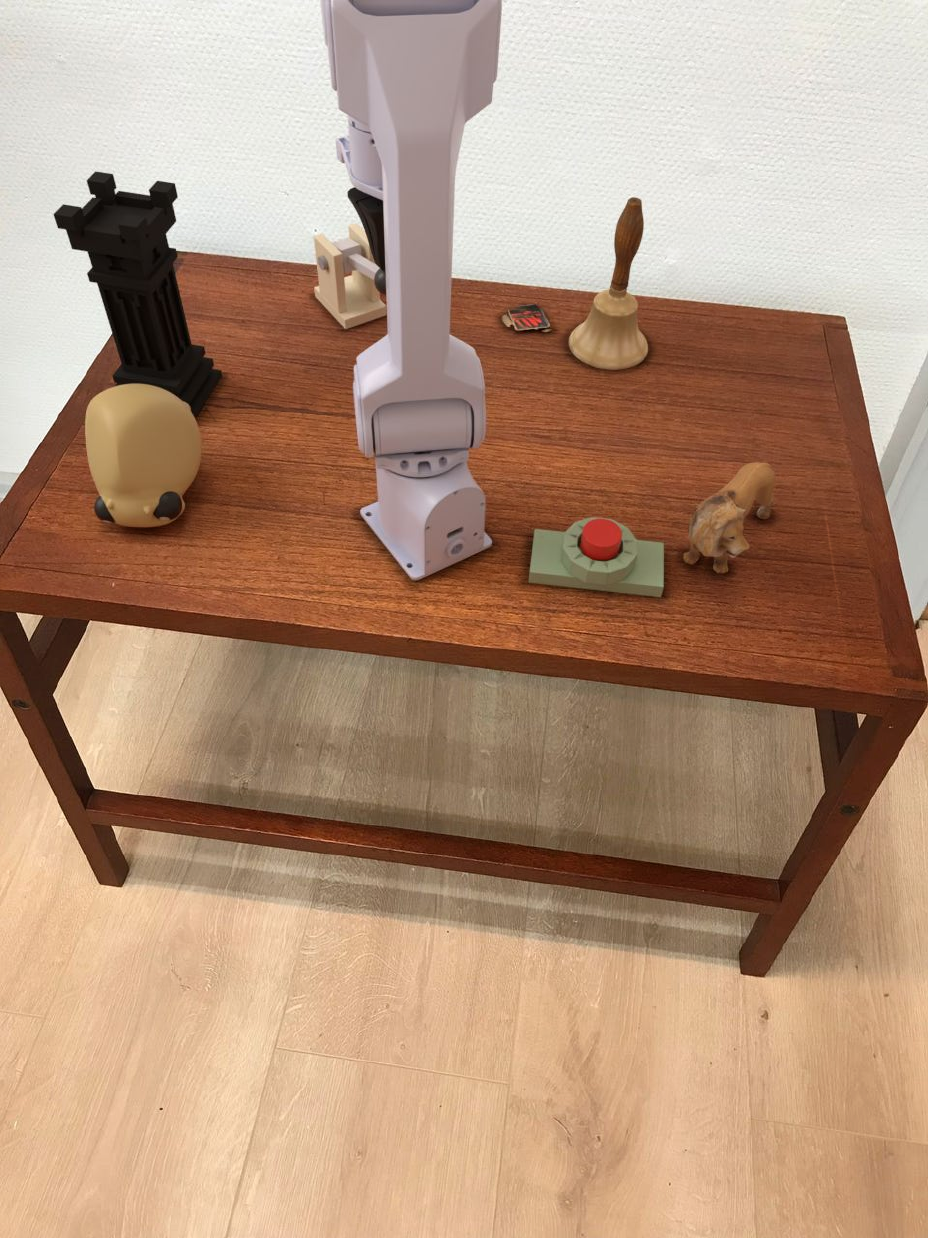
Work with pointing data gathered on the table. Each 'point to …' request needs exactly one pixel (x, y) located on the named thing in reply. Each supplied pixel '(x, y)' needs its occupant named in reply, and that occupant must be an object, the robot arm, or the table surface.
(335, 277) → the lever stand
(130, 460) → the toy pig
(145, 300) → the chess piece
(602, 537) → the button
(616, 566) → the button box
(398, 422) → the robot arm
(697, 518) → the lion figurine
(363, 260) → the tap lever
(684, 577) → the table surface
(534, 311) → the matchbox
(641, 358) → the hand bell
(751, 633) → the table surface
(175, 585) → the table surface
